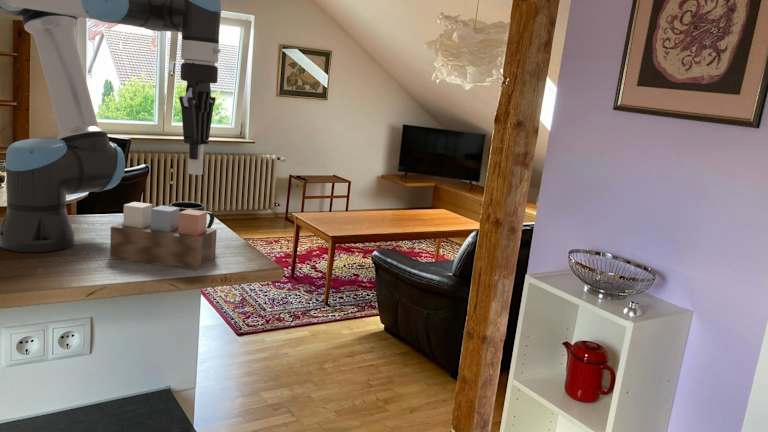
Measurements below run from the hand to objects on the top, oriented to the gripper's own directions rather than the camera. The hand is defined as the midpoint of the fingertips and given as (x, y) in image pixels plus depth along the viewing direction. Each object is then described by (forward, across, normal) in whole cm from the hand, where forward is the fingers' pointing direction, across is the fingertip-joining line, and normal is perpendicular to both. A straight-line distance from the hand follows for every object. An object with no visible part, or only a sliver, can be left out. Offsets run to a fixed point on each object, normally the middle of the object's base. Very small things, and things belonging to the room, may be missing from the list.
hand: (195, 173), depth 138 cm
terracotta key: (+16, 0, 0) cm, 16 cm away
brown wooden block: (+20, 0, +7) cm, 21 cm away
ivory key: (+16, 0, +13) cm, 20 cm away
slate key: (+16, 0, +7) cm, 17 cm away
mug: (+20, +14, +7) cm, 26 cm away
